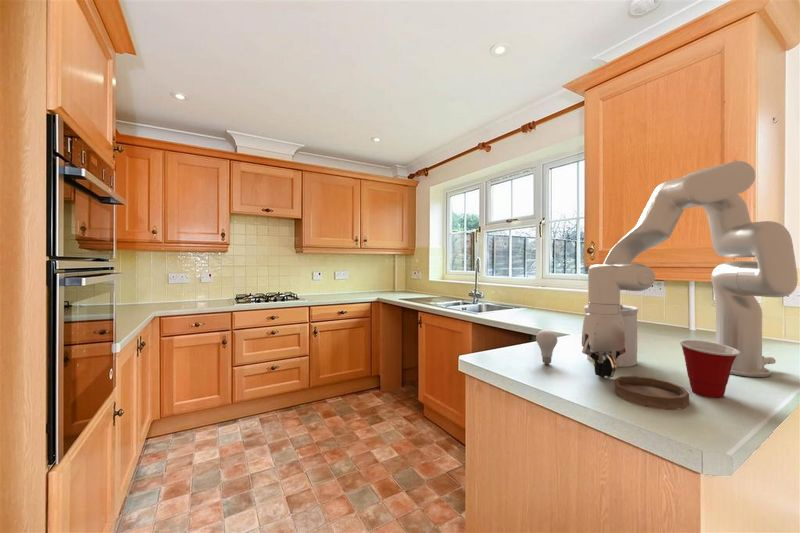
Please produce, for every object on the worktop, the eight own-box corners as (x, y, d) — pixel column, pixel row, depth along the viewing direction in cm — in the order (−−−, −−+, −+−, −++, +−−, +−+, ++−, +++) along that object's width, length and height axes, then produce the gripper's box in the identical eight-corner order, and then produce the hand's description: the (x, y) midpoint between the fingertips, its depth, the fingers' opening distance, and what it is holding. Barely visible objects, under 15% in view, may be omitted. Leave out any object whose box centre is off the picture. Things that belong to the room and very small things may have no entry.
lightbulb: (558, 363, 108) (558, 328, 108) (555, 368, 103) (555, 332, 103) (538, 360, 112) (538, 326, 111) (534, 365, 106) (534, 330, 106)
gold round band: (619, 382, 91) (618, 352, 91) (608, 383, 91) (607, 353, 90) (600, 373, 98) (600, 345, 98) (590, 374, 98) (589, 346, 97)
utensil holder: (579, 361, 110) (579, 307, 109) (589, 352, 121) (589, 302, 121) (634, 371, 100) (634, 311, 100) (640, 359, 111) (640, 305, 111)
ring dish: (652, 384, 89) (652, 375, 89) (705, 407, 75) (704, 396, 75) (601, 387, 88) (601, 377, 88) (645, 410, 74) (645, 399, 74)
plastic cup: (729, 407, 75) (730, 353, 75) (671, 391, 84) (671, 343, 84) (747, 397, 80) (747, 346, 80) (690, 383, 90) (690, 337, 90)
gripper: (620, 306, 98) (620, 370, 99) (568, 308, 97) (568, 372, 97) (641, 310, 91) (641, 379, 91) (585, 312, 89) (585, 381, 90)
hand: (604, 375), depth 94 cm, fingers closed on gold round band
